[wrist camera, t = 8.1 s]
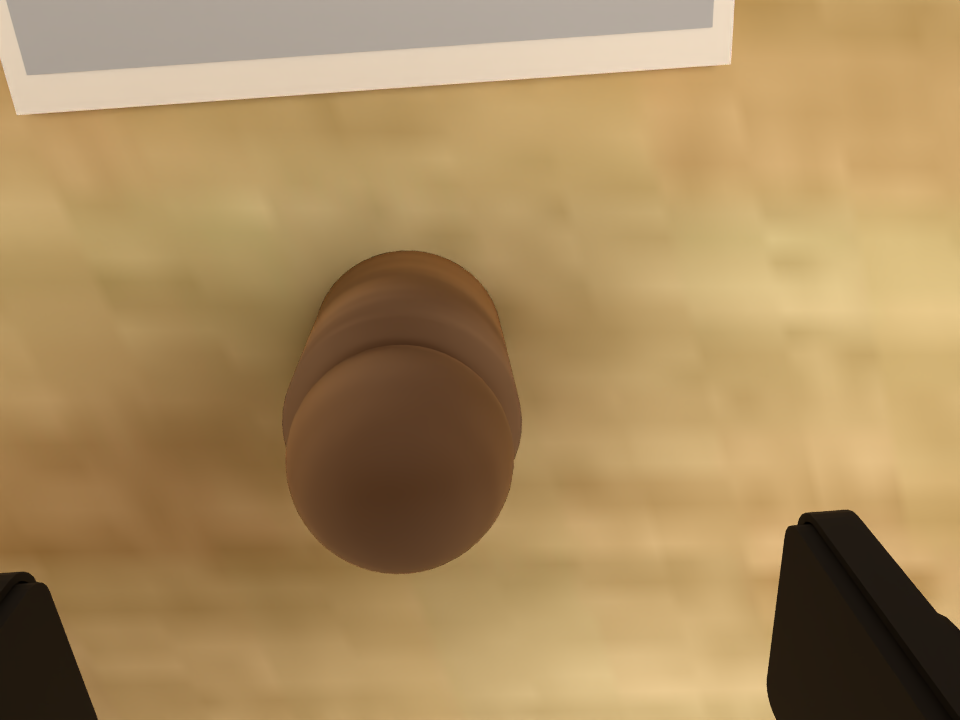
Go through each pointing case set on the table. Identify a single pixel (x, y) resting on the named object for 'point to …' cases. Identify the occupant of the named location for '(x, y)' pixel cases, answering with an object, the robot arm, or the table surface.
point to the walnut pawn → (402, 415)
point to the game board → (333, 45)
